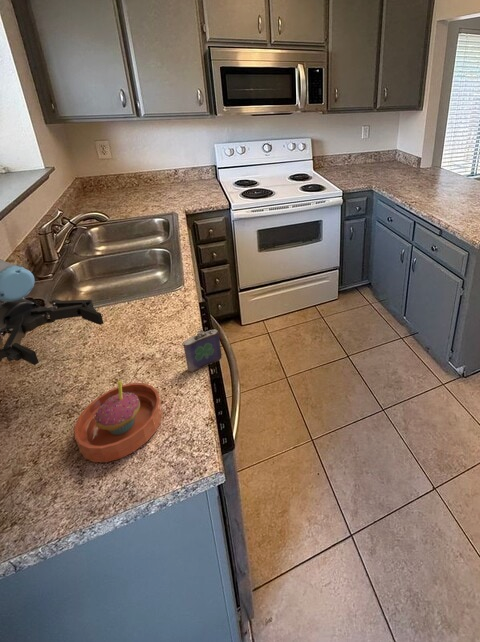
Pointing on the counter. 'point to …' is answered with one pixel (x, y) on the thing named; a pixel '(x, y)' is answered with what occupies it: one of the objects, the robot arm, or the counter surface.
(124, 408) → the cupcake
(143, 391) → the bowl
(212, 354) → the flask
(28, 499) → the counter surface
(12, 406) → the counter surface
